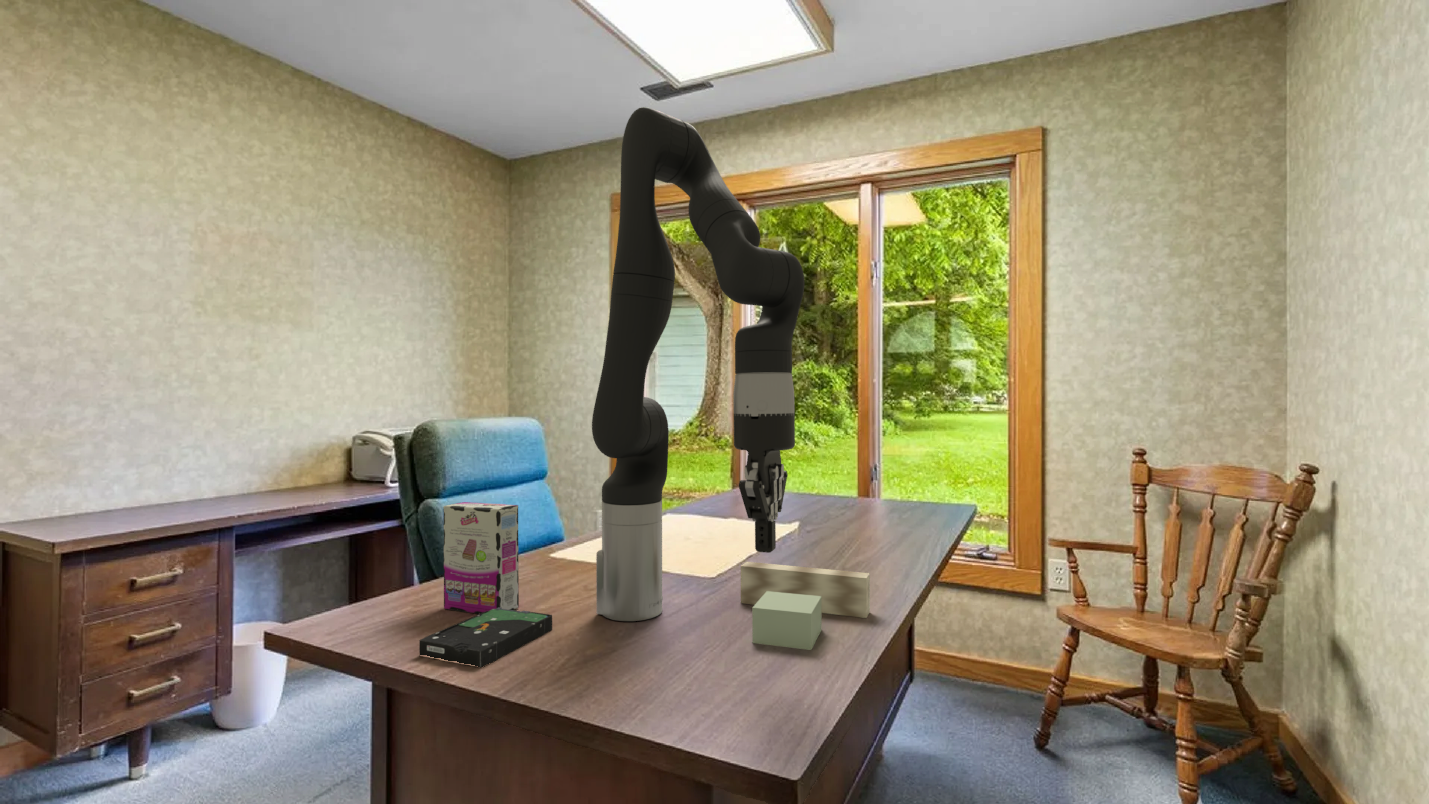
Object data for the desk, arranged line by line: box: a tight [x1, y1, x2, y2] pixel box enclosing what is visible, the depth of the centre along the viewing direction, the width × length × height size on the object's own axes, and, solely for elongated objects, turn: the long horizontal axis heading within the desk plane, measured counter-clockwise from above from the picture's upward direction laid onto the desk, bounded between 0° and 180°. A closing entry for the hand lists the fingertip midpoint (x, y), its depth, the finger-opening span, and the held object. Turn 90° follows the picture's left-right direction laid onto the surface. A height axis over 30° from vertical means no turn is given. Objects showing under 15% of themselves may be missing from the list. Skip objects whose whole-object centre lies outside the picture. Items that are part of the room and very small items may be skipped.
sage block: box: [751, 591, 822, 651], centre depth 92 cm, size 8×8×5 cm
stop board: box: [740, 561, 871, 619], centre depth 105 cm, size 20×3×6 cm, turn 68°
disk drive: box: [418, 607, 553, 668], centre depth 90 cm, size 10×3×15 cm
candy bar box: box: [442, 501, 520, 615], centre depth 104 cm, size 11×5×16 cm, turn 68°
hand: (765, 550), depth 82 cm, fingers closed
